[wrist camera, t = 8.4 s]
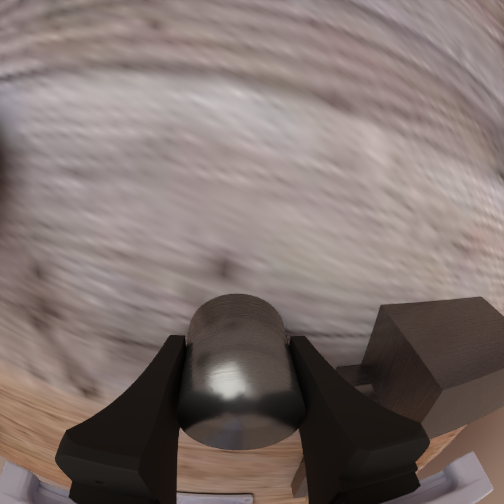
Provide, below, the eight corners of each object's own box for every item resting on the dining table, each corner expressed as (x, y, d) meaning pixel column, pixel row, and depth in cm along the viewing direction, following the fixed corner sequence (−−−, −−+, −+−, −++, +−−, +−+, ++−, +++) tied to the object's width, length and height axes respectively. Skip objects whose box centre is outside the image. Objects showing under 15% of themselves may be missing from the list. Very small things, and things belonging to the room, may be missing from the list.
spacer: (278, 366, 15) (294, 447, 10) (192, 366, 14) (184, 448, 10) (288, 294, 13) (317, 376, 8) (186, 292, 13) (168, 377, 8)
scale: (392, 464, 22) (409, 507, 17) (291, 484, 22) (300, 536, 16) (493, 294, 14) (549, 346, 9) (354, 306, 13) (411, 399, 8)
